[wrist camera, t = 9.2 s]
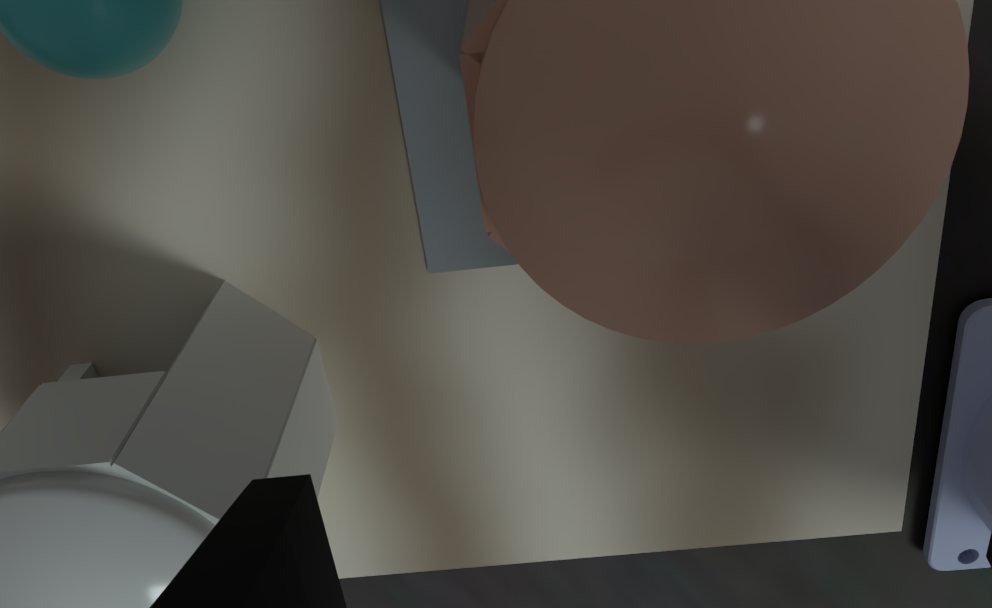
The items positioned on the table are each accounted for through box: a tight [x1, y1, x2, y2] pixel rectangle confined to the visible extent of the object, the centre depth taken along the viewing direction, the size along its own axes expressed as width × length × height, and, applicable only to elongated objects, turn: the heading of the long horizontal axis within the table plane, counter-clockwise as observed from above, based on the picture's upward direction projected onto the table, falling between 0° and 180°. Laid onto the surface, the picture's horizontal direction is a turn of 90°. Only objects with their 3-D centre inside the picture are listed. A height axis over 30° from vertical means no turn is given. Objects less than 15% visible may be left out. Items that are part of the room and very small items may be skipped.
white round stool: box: [0, 281, 338, 608], centre depth 17 cm, size 6×6×7 cm
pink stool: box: [459, 0, 970, 344], centre depth 13 cm, size 6×6×7 cm
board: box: [0, 0, 974, 578], centre depth 18 cm, size 22×19×1 cm
